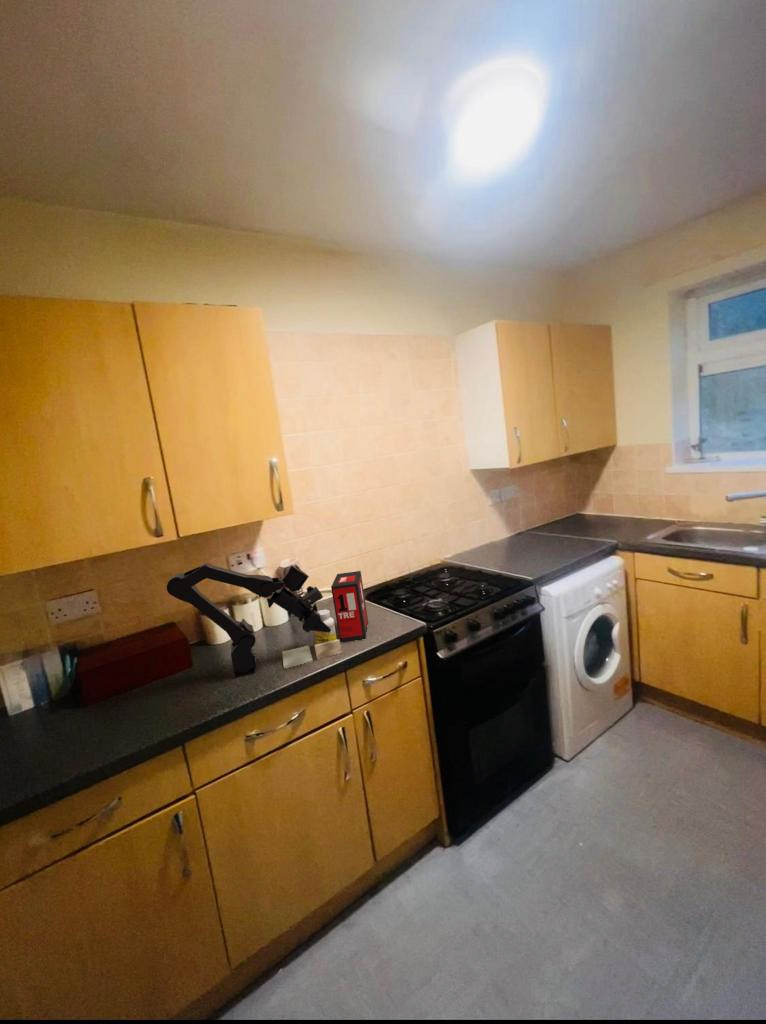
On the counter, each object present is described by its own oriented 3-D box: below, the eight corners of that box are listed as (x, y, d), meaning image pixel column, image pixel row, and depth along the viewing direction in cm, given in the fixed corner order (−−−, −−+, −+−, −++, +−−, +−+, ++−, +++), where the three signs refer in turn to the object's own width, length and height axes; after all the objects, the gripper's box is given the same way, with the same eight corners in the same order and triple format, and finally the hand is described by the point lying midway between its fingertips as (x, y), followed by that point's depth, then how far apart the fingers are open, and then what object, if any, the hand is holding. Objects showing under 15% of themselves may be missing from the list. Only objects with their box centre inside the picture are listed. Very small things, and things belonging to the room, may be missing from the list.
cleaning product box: (345, 624, 168) (337, 573, 165) (368, 621, 167) (360, 570, 165) (340, 642, 151) (331, 586, 149) (365, 639, 151) (357, 583, 149)
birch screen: (317, 659, 140) (315, 646, 140) (316, 658, 142) (314, 645, 141) (341, 653, 142) (339, 640, 142) (341, 652, 144) (339, 639, 143)
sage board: (284, 669, 137) (283, 666, 137) (282, 653, 149) (282, 651, 149) (312, 661, 139) (312, 659, 139) (309, 647, 151) (308, 645, 151)
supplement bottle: (314, 652, 146) (308, 615, 144) (325, 643, 152) (319, 607, 150) (330, 654, 143) (324, 616, 141) (341, 645, 149) (336, 609, 147)
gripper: (307, 589, 134) (348, 616, 138) (303, 575, 152) (338, 599, 156) (285, 619, 133) (327, 645, 137) (283, 602, 151) (320, 625, 155)
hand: (328, 627), depth 147 cm, fingers closed on supplement bottle, 7 cm apart
